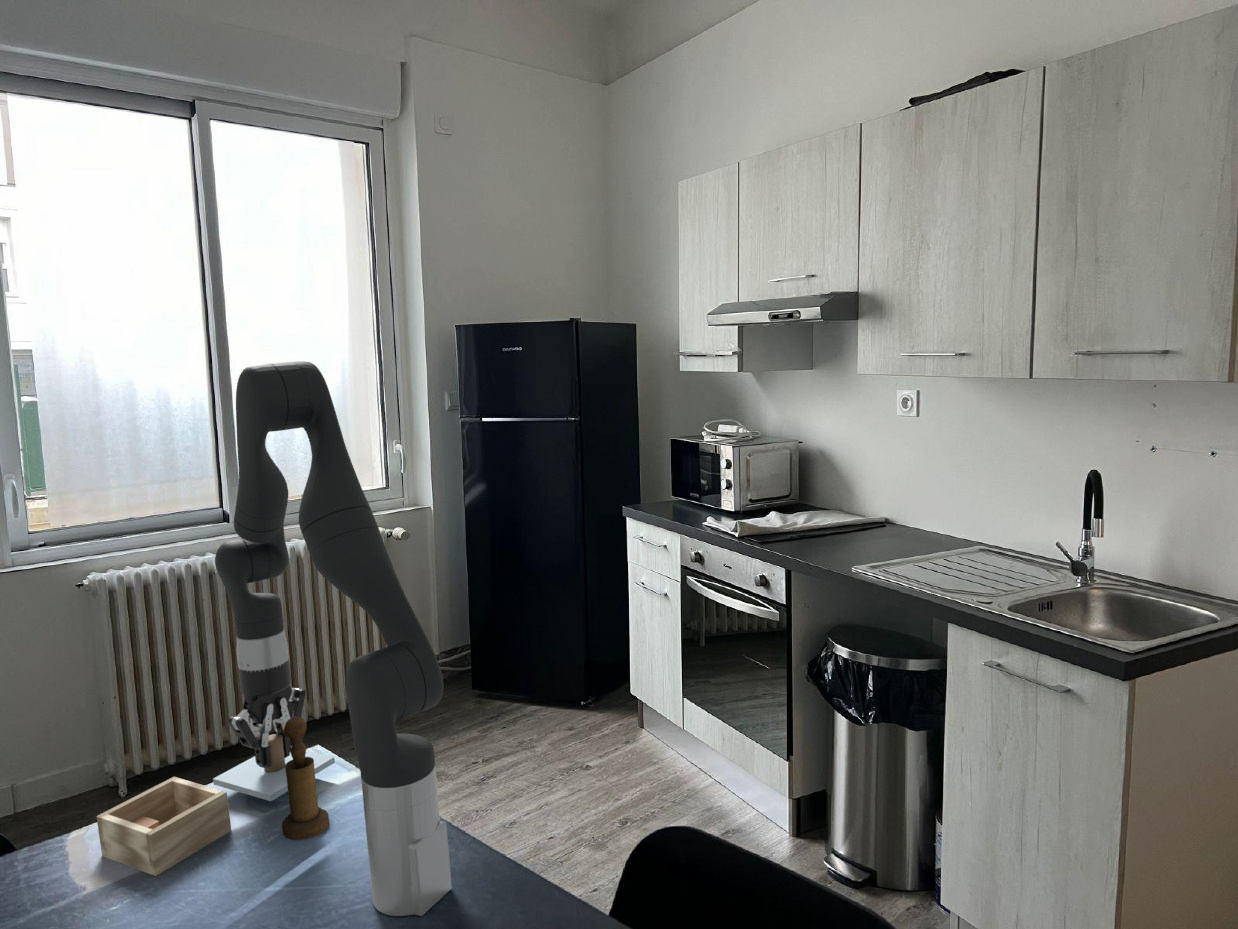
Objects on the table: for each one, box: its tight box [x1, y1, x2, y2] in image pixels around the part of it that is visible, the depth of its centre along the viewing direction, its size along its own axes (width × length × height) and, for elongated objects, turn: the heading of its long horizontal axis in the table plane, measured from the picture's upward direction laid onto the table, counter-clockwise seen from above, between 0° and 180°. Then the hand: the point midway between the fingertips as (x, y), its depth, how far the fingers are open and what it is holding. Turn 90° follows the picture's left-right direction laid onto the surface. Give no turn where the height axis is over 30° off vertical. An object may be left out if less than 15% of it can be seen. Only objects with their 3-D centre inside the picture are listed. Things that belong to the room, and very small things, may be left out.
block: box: [132, 816, 160, 830], centre depth 123 cm, size 4×4×4 cm
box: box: [96, 776, 232, 877], centre depth 124 cm, size 12×12×7 cm
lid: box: [212, 733, 336, 802], centre depth 138 cm, size 13×13×6 cm
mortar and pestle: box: [281, 716, 330, 841], centre depth 125 cm, size 7×6×18 cm
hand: (274, 761), depth 138 cm, fingers closed on lid, 3 cm apart
